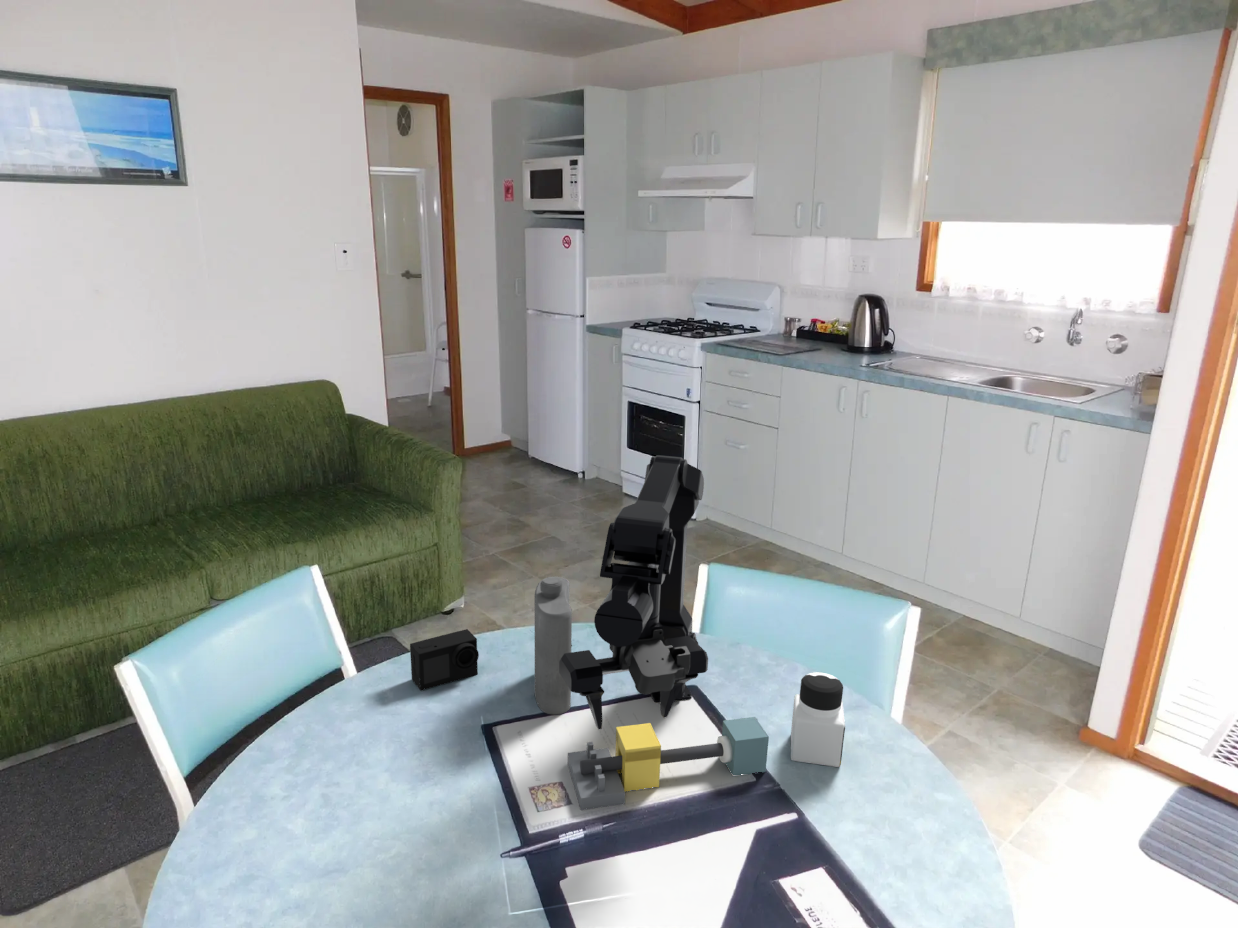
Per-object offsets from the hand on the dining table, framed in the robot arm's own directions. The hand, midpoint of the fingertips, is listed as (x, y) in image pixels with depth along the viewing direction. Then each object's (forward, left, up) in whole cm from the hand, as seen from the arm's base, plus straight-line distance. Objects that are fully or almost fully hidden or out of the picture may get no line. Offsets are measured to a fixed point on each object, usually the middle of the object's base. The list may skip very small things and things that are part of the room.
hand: (631, 721), depth 108 cm
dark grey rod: (-4, +7, -12) cm, 15 cm away
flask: (-29, -6, -13) cm, 33 cm away
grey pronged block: (-4, -4, -12) cm, 14 cm away
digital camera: (-37, -23, -13) cm, 45 cm away
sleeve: (-4, +2, -12) cm, 13 cm away
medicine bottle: (-5, +30, -13) cm, 33 cm away
